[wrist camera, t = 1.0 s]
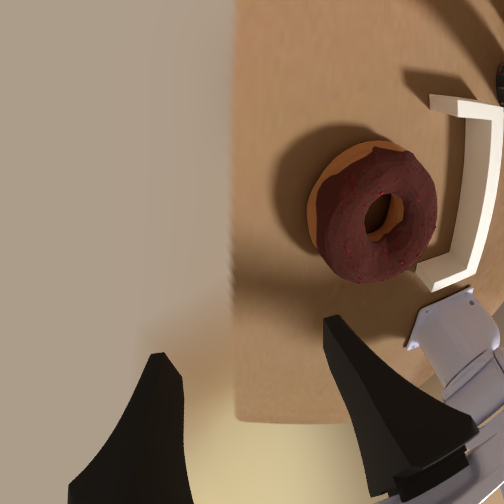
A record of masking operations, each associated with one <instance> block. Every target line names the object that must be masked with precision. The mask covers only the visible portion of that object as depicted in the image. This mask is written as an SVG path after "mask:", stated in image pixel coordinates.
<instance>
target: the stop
mask: <svg viewBox="0 0 504 504" xmlns="http://www.w3.org/2000/svg"><path fill="white" fill-rule="evenodd" d="M429 100H430V110H434V111H438V112H442V113H446V114H449V115H452V116H456V117H463V118H466V132H465V154H464V167H463V177H462V186H461V193H460V200H459V207H458V212H457V218H456V223H455V228H454V233H453V238H452V242H451V247H450V251H449V252H448V253H445V254H443V255H440V256H437V257H434V258H431V259H428V260H425V261H422V262H419V263H417V267H416V271H415V273H416V275H417V276H418V277H419V278H420V279H421V280H422V282H423V283H424V284H425V285H426V286H427V288H428V289H429V290H430V291H431V293H432V292H434V291H437V290H439V289H442V288H444V287H446V286H449V285H451V284H453V283H456V282H458V281H460V280H462V279H465V278H467V277H469V276H471V275H473V274H475V273H476V270H477V267H478V264H479V261H480V258H481V255H482V251H483V248H484V244H485V241H486V237H487V234H488V230H489V226H490V222H491V217H492V213H493V208H494V203H495V198H496V192H497V186H498V180H499V173H500V165H501V155H502V143H503V118H504V108H503V107H500V106H497V105H494V104H490V103H487V102H483V101H479V100H474V99H468V98H461V97H453V96H445V95H435V94H429Z"/></svg>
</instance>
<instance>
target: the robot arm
mask: <svg viewBox="0 0 504 504" xmlns="http://www.w3.org/2000/svg"><path fill="white" fill-rule="evenodd" d="M472 291H473V287H469V288H467V289H464V290H462V291H460V292H458V293H456V294H454V295H452V296H449V297H447V298H445V299H443V300H440V301H438V302H436V303H434V304H431V305H429V306H426V307H424V308H422V309H421V310H420V311H419V313H418V316H417V319H416V322H415V325H414V328H413V331H412V334H411V336H410V339H409V342H408V344H407V347H406V349H407V350H408V351H409V350H411V349H413V348H416V347H418V346H420V347H421V349H422V351H423V352H424V354H425V356H426V357H427V359H428V361H429V363H430V364H431V366H432V368H433V369H434V371H435V373H436V375H437V376H438V378H439V380H440V382H441V384H442V385H443V387H444V390H443V391H442V392H441V394H442V396H443V398H442V400H441V401H438V400H437V399H435V398H433V397H432V396H430V395H428V394H427V393H425V392H423V391H422V390H420V389H419V388H417V387H416V386H414V385H413V384H411V383H410V382H409V381H407V380H406V379H404V378H403V377H402V376H401V375H399V374H398V373H397V372H395V371H394V370H393V369H392V368H391V367H389V366H388V365H387V364H386V363H385V362H384V361H383V360H381V359H380V358H379V357H378V356H377V355H376V354H375V353H374V352H373V351H372V350H371V349H370V348H369V347H368V346H367V345H366V344H365V343H364V342H363V341H362V340H361V339H360V338H359V337H358V336H357V335H356V334H355V333H354V331H353V330H352V329H351V328H350V327H349V326H348V325H347V323H346V322H345V321H344V320H343V319H342V317H341V316H340V315H338V314H337V315H334V316H330V317H327V318H323V349H324V352H325V355H326V358H327V362H328V365H329V368H330V370H331V373H332V375H333V377H334V380H335V382H336V384H337V386H338V389H339V391H340V393H341V396H342V398H343V400H344V402H345V405H346V407H347V409H348V412H349V414H350V417H351V420H352V423H353V427H354V430H355V434H356V437H357V440H358V445H359V448H360V452H361V456H362V460H363V465H364V469H365V474H366V479H367V484H368V490H369V493H370V496H371V497H375V496H379V495H382V494H385V493H387V492H388V495H389V498H387V499H384V500H382V501H379V502H377V503H374V504H480V503H481V502H483V501H484V500H485V499H486V498H487V497H488V496H489V495H490V494H492V493H493V492H494V491H495V490H496V489H497V488H498V487H499V486H500V489H501V492H502V494H503V498H504V410H503V411H502V412H500V413H499V414H498V415H497V416H496V417H494V418H493V419H492V420H491V421H490V422H488V423H487V424H486V425H484V426H483V427H481V428H478V427H477V426H479V425H480V424H481V423H482V422H484V421H485V420H486V419H487V418H489V417H490V416H491V415H492V414H494V413H495V412H496V411H497V410H498V409H499V408H501V407H502V406H503V405H504V348H499V347H498V346H499V342H500V335H499V330H498V327H497V325H496V323H495V321H494V320H493V319H492V317H491V316H490V315H489V314H488V312H487V311H486V310H485V309H484V307H483V306H482V305H481V304H480V303H479V301H478V300H477V299H476V298H475V297H474V296H473V294H472ZM183 424H184V391H183V381H182V376H181V375H180V374H179V372H178V371H177V370H176V368H175V367H174V366H173V364H172V363H171V361H170V360H169V359H168V357H167V356H166V354H165V353H164V352H162V353H155V354H151V355H150V357H149V359H148V361H147V364H146V366H145V368H144V370H143V373H142V375H141V377H140V379H139V382H138V384H137V386H136V388H135V390H134V393H133V395H132V397H131V399H130V401H129V403H128V405H127V407H126V409H125V411H124V413H123V415H122V417H121V419H120V420H119V422H118V424H117V426H116V427H115V429H114V431H113V432H112V434H111V435H110V437H109V438H108V440H107V441H106V443H105V444H104V446H103V447H102V449H101V450H100V451H99V453H98V454H97V455H96V456H95V457H94V459H93V460H92V461H91V462H90V463H89V465H88V466H87V467H86V468H85V469H84V470H83V471H82V472H81V473H80V474H79V475H78V476H77V477H76V478H75V479H74V480H73V481H72V482H71V483H70V484H69V487H68V504H194V502H193V499H192V495H191V490H190V486H189V481H188V476H187V470H186V463H185V456H184V446H183V445H184V443H183V430H184V429H183V428H184V425H183ZM467 449H472V450H470V451H469V452H467V453H466V454H465V453H464V452H465V451H467Z"/></svg>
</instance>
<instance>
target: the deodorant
mask: <svg viewBox="0 0 504 504" xmlns="http://www.w3.org/2000/svg"><path fill="white" fill-rule="evenodd" d="M496 88H497V95H498V99H499V103H500V106H501V107H503V108H504V62H503V63H502V64H500V66H499V68H498V71H497V77H496Z"/></svg>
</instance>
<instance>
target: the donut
mask: <svg viewBox="0 0 504 504" xmlns="http://www.w3.org/2000/svg"><path fill="white" fill-rule="evenodd" d="M384 194H386V195H387V194H391V201H390V206H389V210H388V213H387V217H386V219H385V222H384V223H383V225H382V226H381V227H380V228H379V229H378V230H376V231H374V232H372V233H368V234H366V229H365V225H364V220H365V215H366V213H367V211H368V210H369V207H370V205H371V204H372V203H373V202H374V201H375V200H376V199H379V197H380V196H381V195H384ZM437 212H438V211H437V195H436V190H435V185H434V181H433V180H432V178H431V176H430V175H429V173H428V172H427V171H426V170H425V168H424V167H423V166H422V164H421V163H420V162H419V161H418V160H417V159H416V157H415V156H414V154H413V153H411V152H410V151H407V150H405V149H404V148H402V147H401V146H399V145H397V144H395V143H392V142H389V141H378V140H377V141H367V142H363V143H360V144H357V145H355V146H353V147H351V148H349V149H347V150H345V151H344V152H343V153H341V154H340V155H339V156H337V157H336V158H334V159H333V160H332V162H331V163H330V164H329V165H328V166H327V167H326V168H325V170H324V171H323V173H322V174H321V176H320V177H319V179H318V181H317V182H316V184H315V185H314V187H313V189H312V191H311V193H310V196H309V199H308V203H307V222H308V228H309V234H310V237H311V240H312V243H313V244H314V246H315V247H316V248H317V250H318V251H319V253H320V255H321V256H322V257H323V259H324V260H325V262H326V263H327V264H328V266H329V267H330V268H331V269H332V270H333V271H334V273H335V274H337V275H338V276H340V277H341V278H343V279H346V280H349V281H353V282H356V283H358V284H360V283H364V282H369V283H370V282H373V281H374V282H375V281H379V280H382V281H383V280H384V279H388V278H391V277H394V276H396V275H398V274H400V273H402V272H403V271H406V270H407V269H408V268H409V267H410V266H411V265H413V264H414V263H415V262H416V261H417V259H418V258H419V257H421V255H422V253H423V252H424V250H425V249H426V247H427V245H428V243H429V241H430V239H431V237H432V235H433V232H434V230H435V228H436V226H435V225H436V219H437Z"/></svg>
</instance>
